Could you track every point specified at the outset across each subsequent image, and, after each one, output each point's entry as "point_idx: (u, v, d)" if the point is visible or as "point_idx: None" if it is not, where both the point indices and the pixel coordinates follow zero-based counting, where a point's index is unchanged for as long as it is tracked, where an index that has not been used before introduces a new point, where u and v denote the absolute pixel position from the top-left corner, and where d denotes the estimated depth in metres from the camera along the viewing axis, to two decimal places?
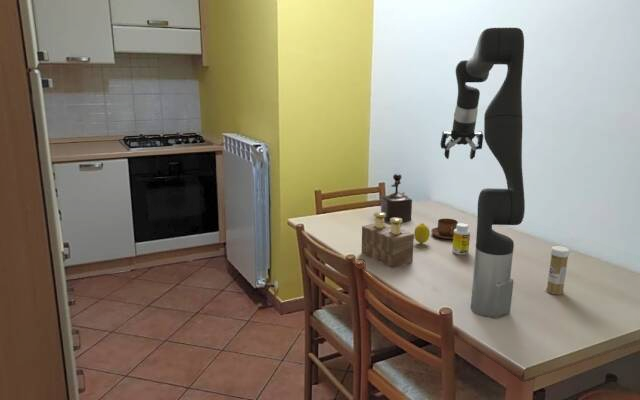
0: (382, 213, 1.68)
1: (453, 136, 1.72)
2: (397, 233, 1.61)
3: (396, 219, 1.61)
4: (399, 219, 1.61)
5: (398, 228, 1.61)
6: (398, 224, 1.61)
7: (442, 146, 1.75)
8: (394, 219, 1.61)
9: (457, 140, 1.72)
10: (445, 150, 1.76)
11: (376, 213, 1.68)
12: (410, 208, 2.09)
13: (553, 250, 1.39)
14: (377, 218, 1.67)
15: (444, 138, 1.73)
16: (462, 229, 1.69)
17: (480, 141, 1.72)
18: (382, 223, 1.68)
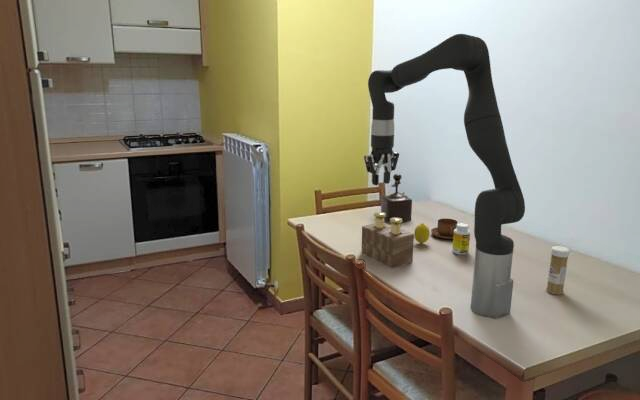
0: (382, 213, 1.68)
1: (376, 157, 1.60)
2: (397, 233, 1.61)
3: (396, 219, 1.61)
4: (399, 219, 1.61)
5: (398, 228, 1.61)
6: (398, 224, 1.61)
7: (372, 170, 1.60)
8: (394, 219, 1.61)
9: (382, 159, 1.61)
10: (374, 175, 1.62)
11: (376, 213, 1.68)
12: (410, 208, 2.09)
13: (553, 250, 1.39)
14: (377, 218, 1.67)
15: (370, 161, 1.59)
16: (462, 229, 1.69)
17: (395, 161, 1.65)
18: (382, 223, 1.68)
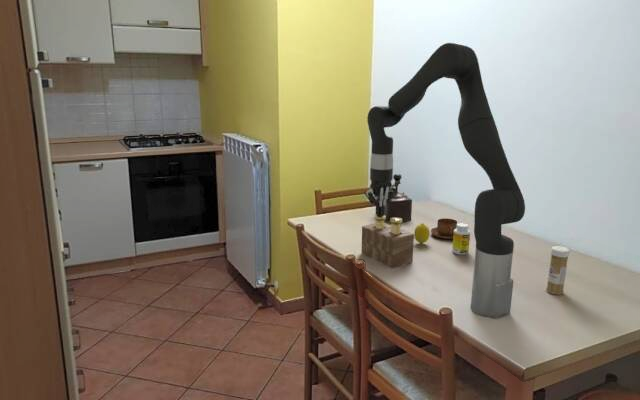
0: (382, 216, 1.68)
1: (376, 192, 1.63)
2: (397, 233, 1.61)
3: (396, 219, 1.61)
4: (399, 219, 1.61)
5: (398, 228, 1.61)
6: (398, 224, 1.61)
7: (376, 203, 1.64)
8: (394, 219, 1.61)
9: (381, 192, 1.64)
10: (378, 207, 1.66)
11: (376, 216, 1.68)
12: (410, 208, 2.09)
13: (553, 250, 1.39)
14: (377, 221, 1.67)
15: (372, 196, 1.63)
16: (462, 229, 1.69)
17: (391, 195, 1.68)
18: (382, 226, 1.68)
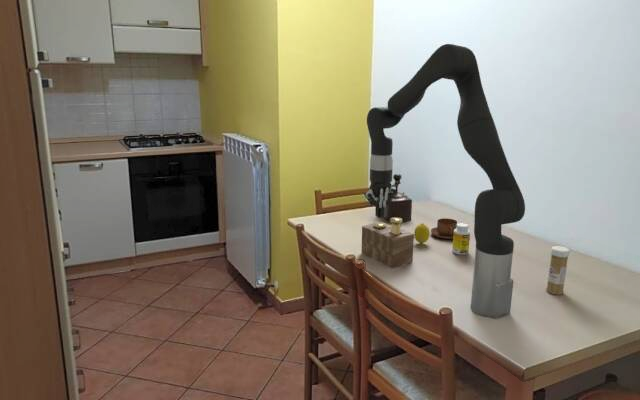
0: (382, 224, 1.69)
1: (375, 193, 1.63)
2: (397, 233, 1.61)
3: (396, 219, 1.61)
4: (399, 219, 1.61)
5: (398, 228, 1.61)
6: (398, 224, 1.61)
7: (376, 204, 1.64)
8: (394, 219, 1.61)
9: (381, 193, 1.64)
10: (378, 209, 1.66)
11: (376, 224, 1.69)
12: (410, 208, 2.09)
13: (553, 250, 1.39)
14: None
15: (371, 198, 1.63)
16: (462, 229, 1.69)
17: (391, 196, 1.68)
18: None
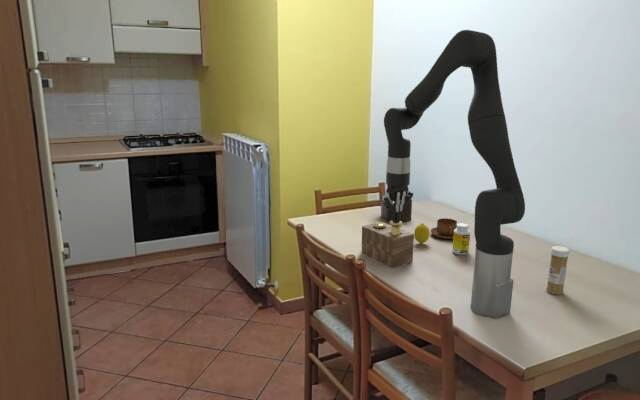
0: (382, 224, 1.69)
1: (392, 197, 1.57)
2: None
3: None
4: (399, 222, 1.62)
5: (398, 231, 1.61)
6: (398, 227, 1.61)
7: (393, 208, 1.58)
8: (394, 222, 1.62)
9: (398, 196, 1.57)
10: (394, 213, 1.60)
11: (376, 224, 1.69)
12: (410, 208, 2.09)
13: (553, 250, 1.39)
14: None
15: (388, 202, 1.56)
16: (462, 229, 1.69)
17: (408, 200, 1.61)
18: None
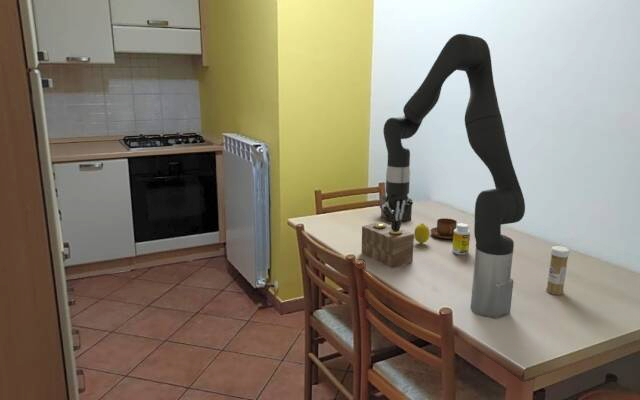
0: (382, 224, 1.69)
1: (392, 206, 1.58)
2: None
3: None
4: (399, 230, 1.62)
5: None
6: None
7: (392, 217, 1.59)
8: None
9: (398, 205, 1.58)
10: (394, 222, 1.60)
11: (376, 224, 1.69)
12: (410, 208, 2.09)
13: (553, 250, 1.39)
14: None
15: (388, 210, 1.57)
16: (462, 229, 1.69)
17: (408, 208, 1.62)
18: None
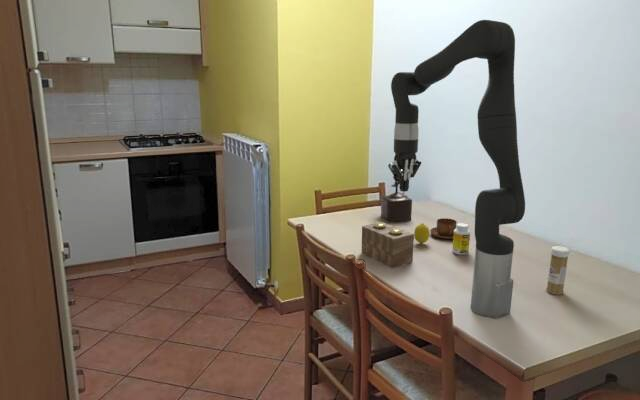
0: (382, 224, 1.69)
1: (400, 164, 1.54)
2: None
3: (396, 230, 1.62)
4: (399, 230, 1.62)
5: None
6: None
7: (401, 176, 1.55)
8: (394, 230, 1.62)
9: (406, 164, 1.54)
10: (402, 181, 1.56)
11: (376, 224, 1.69)
12: (410, 208, 2.09)
13: (553, 250, 1.39)
14: None
15: (396, 169, 1.53)
16: (462, 229, 1.69)
17: (416, 168, 1.58)
18: None
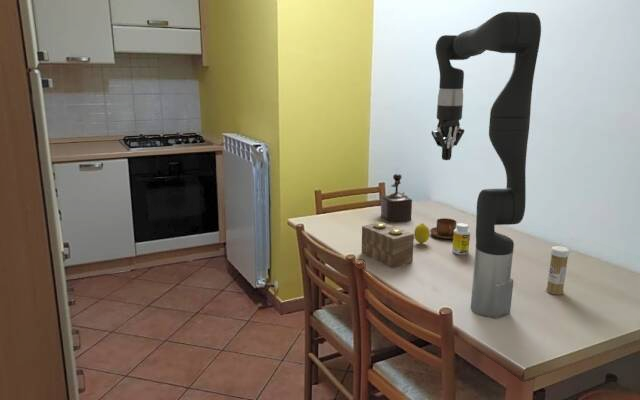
0: (382, 224, 1.69)
1: (444, 132, 1.50)
2: None
3: (396, 230, 1.62)
4: (399, 230, 1.62)
5: None
6: None
7: (444, 144, 1.51)
8: (394, 230, 1.62)
9: (450, 131, 1.50)
10: (445, 149, 1.52)
11: (376, 224, 1.69)
12: (410, 208, 2.09)
13: (553, 250, 1.39)
14: None
15: (440, 136, 1.49)
16: (462, 229, 1.69)
17: (459, 136, 1.54)
18: None
